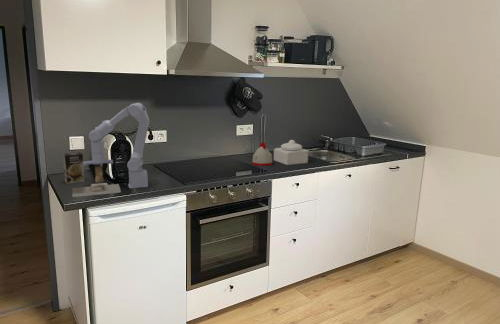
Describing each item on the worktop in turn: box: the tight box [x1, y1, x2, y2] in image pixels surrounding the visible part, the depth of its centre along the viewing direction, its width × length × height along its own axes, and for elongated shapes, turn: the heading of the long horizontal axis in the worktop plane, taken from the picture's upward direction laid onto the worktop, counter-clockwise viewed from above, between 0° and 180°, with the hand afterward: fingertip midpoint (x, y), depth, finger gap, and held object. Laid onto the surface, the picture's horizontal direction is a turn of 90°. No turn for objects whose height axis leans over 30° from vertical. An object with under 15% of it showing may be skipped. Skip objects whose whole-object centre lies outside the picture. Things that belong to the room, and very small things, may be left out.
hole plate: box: [72, 183, 122, 198], centre depth 194 cm, size 22×11×2 cm, turn 114°
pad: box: [90, 182, 109, 186], centre depth 205 cm, size 8×8×1 cm
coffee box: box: [62, 152, 86, 185], centre depth 210 cm, size 9×6×16 cm
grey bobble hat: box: [251, 141, 273, 167], centre depth 265 cm, size 14×14×15 cm
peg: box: [94, 165, 104, 184], centre depth 204 cm, size 4×4×8 cm
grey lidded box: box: [273, 139, 310, 166], centre depth 273 cm, size 18×18×16 cm
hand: (99, 177), depth 204 cm, fingers closed on peg, 4 cm apart
